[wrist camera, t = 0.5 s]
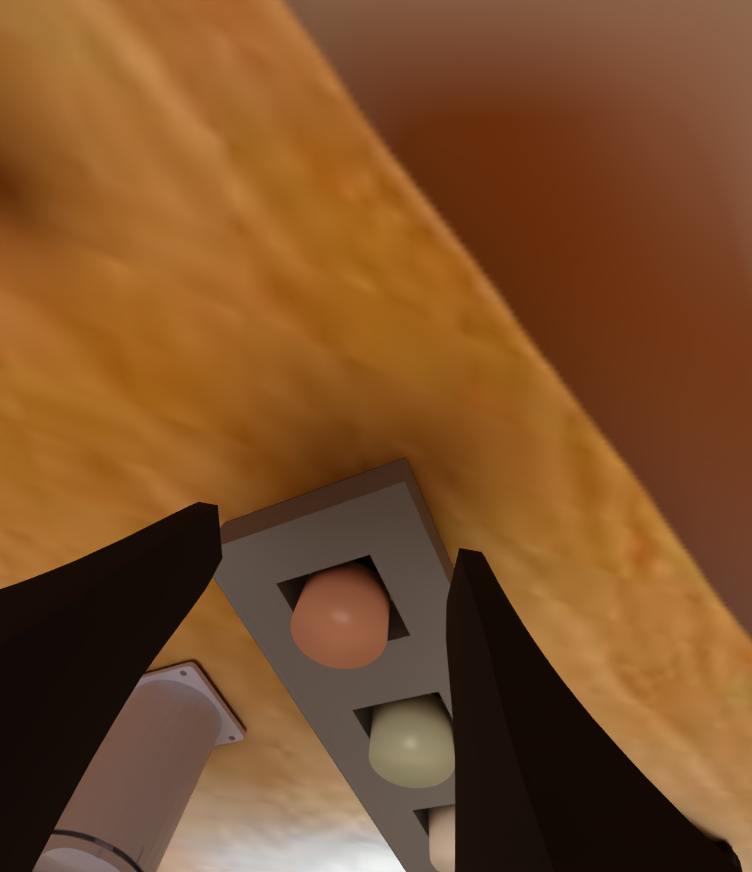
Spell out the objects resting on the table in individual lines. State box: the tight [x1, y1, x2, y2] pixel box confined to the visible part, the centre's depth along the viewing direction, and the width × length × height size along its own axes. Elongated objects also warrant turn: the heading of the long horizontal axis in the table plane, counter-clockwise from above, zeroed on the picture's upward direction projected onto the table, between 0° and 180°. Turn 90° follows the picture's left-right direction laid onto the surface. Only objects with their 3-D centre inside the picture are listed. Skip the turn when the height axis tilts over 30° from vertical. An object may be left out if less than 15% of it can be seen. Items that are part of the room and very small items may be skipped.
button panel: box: [213, 457, 455, 872], centre depth 24 cm, size 12×32×3 cm, turn 23°
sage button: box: [369, 693, 455, 788], centre depth 22 cm, size 5×5×2 cm
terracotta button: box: [291, 561, 390, 669], centre depth 20 cm, size 5×5×2 cm
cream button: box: [428, 804, 455, 872], centre depth 25 cm, size 5×5×2 cm
